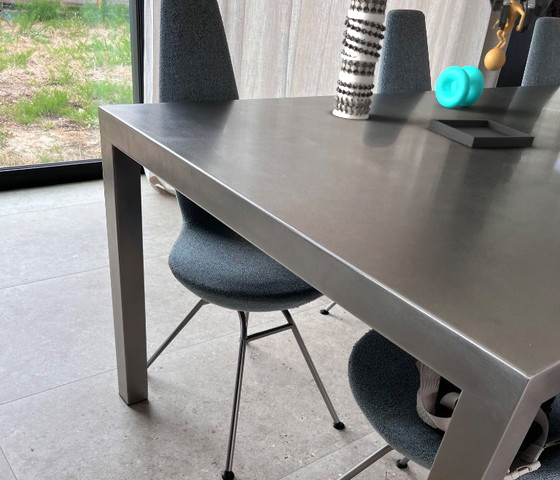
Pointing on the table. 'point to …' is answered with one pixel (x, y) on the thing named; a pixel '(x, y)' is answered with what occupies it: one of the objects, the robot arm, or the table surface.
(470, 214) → the table surface
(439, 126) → the base pad
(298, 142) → the table surface
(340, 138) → the table surface
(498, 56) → the figurine
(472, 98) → the donuts
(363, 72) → the decorative candle
